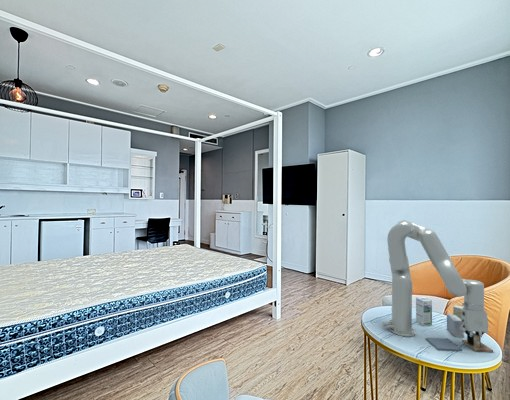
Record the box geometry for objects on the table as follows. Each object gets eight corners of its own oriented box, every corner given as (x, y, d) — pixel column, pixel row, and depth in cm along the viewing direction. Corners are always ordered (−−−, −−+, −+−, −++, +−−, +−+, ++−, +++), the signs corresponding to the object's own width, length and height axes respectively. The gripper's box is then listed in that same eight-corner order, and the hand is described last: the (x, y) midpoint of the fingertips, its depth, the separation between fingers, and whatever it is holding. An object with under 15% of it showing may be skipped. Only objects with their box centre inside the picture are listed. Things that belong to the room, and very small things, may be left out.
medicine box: (464, 337, 136) (464, 321, 136) (454, 336, 137) (454, 320, 137) (455, 330, 143) (455, 314, 144) (446, 329, 144) (446, 314, 145)
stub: (475, 351, 123) (475, 338, 123) (461, 341, 132) (461, 329, 132) (493, 352, 122) (493, 339, 122) (478, 342, 131) (478, 330, 131)
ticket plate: (438, 350, 123) (438, 348, 123) (425, 339, 133) (425, 337, 133) (462, 351, 123) (462, 349, 123) (447, 340, 133) (447, 338, 133)
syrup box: (423, 326, 148) (423, 300, 149) (415, 321, 154) (415, 296, 154) (432, 325, 149) (432, 300, 149) (424, 321, 155) (424, 296, 155)
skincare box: (452, 328, 146) (452, 306, 147) (454, 325, 149) (454, 304, 150) (467, 332, 142) (467, 309, 142) (468, 329, 145) (468, 307, 145)
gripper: (462, 308, 124) (462, 347, 124) (497, 309, 123) (497, 349, 123) (451, 302, 132) (451, 339, 131) (484, 303, 131) (484, 340, 130)
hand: (473, 343), depth 127 cm, fingers closed on stub, 2 cm apart
